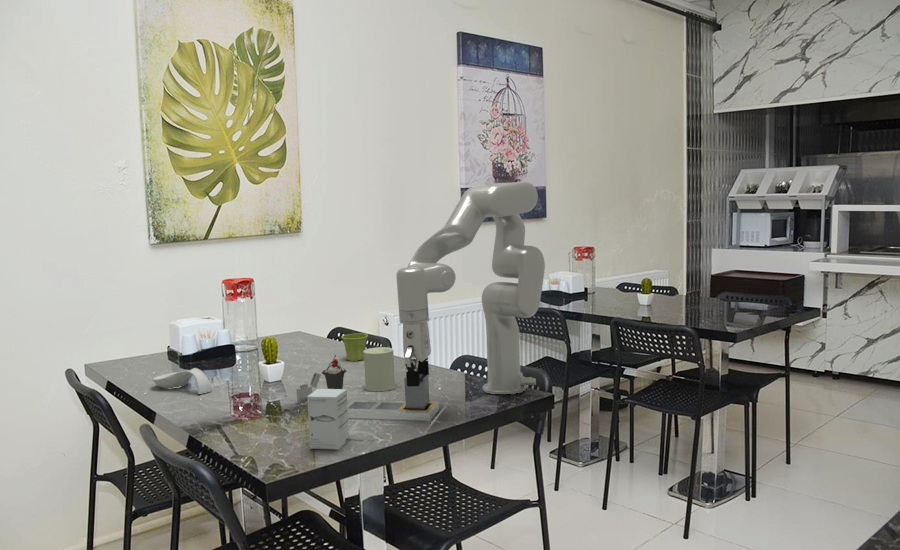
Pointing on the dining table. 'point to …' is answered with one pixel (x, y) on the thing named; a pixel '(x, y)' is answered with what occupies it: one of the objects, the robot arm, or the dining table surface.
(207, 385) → the spoon rest
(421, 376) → the gray rectangular block
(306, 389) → the lighter
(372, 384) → the can
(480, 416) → the dining table surface
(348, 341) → the plant pot
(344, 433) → the supplement box
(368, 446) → the dining table surface
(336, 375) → the sundae
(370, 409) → the gray compartment tray
